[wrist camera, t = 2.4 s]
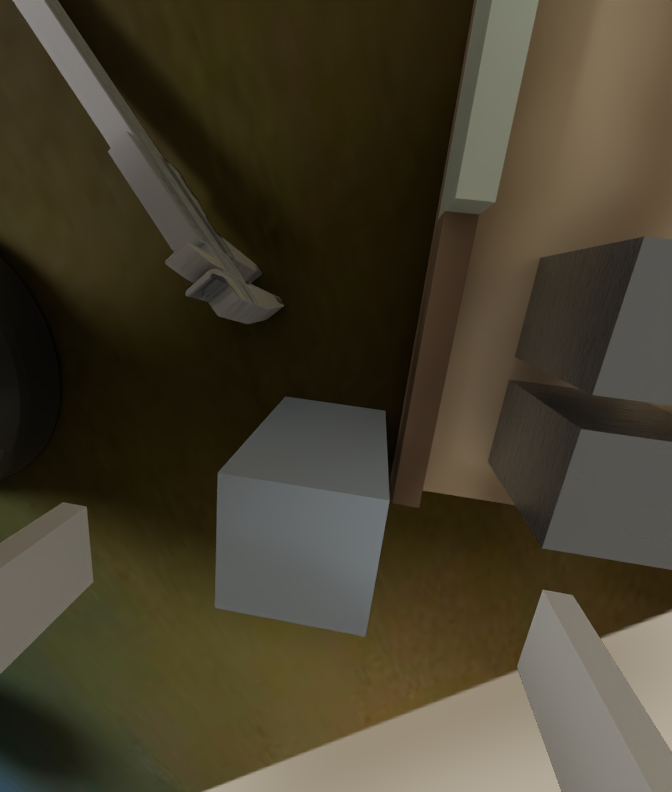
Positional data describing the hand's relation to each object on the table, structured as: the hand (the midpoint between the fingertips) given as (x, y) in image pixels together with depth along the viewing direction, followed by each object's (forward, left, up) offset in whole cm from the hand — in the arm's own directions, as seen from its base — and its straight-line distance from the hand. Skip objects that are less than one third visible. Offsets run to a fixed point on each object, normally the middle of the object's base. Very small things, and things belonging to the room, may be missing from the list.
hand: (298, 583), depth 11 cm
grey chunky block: (+10, +8, -8) cm, 15 cm away
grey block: (0, 0, -9) cm, 9 cm away
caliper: (-10, +14, -9) cm, 20 cm away
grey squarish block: (+10, +3, -8) cm, 13 cm away
